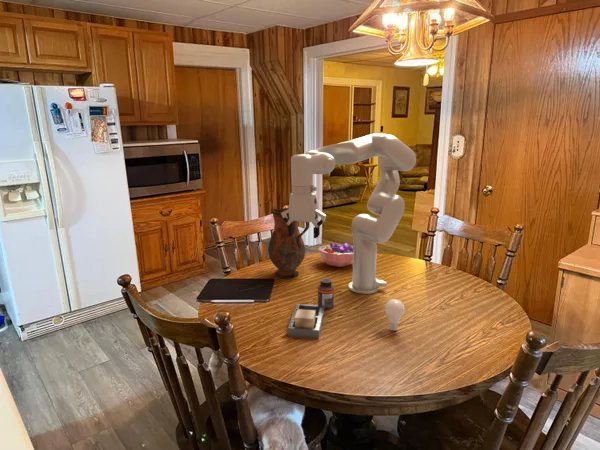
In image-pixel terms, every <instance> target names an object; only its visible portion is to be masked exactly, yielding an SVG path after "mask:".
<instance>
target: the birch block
mask: <svg viewBox="0 0 600 450" xmlns="http://www.w3.org/2000/svg"><path fill="white" fill-rule="evenodd" d="M315 317H316V310H303V309H298V310H297V313H296V316H295V327H300V328H314V329H315Z"/></svg>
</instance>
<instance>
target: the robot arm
mask: <svg viewBox="0 0 600 450" xmlns="http://www.w3.org/2000/svg"><path fill="white" fill-rule="evenodd" d="M374 157H377V163H378V166H379V172H380V175H379V180H378V181H377V184H376V186H375V188H374V189H373V191H372V193H371V194H370V196H369V198H368V201H367V202H366V207H367V210H368V211H369V212H370V213H372V214H375V215H378V216H379V217H378V216H375V215H371V214H367V213H359V214H358V215H356V216H355V217H354V218H353V219H352V222H351V234H352V241H353V263H352V275H351V277H352V278H351V279H352V280H351V282H348V284H347V285H348V290H349V291H351V292H353V293H356V294H361V295H371V294H374V293H377V292H378V291H379V290H380V288H379V287H388V286H387V281H384V280H383V279H378V278H377V276H376V274H377V255H378V247H377V244H384V243H386V242H388V241H389V240H390V238H391V237H392V236H393V234H394V232H395V230H396V228H397V226H398V225H399V222H400V221H401V219H402V217H403V215H404V213H405V208H406V205H405V204H406V202H405V200H404V198H403V197H402V196H401V195H399V194H397V192H398V190H399V188H400V184H401V179H400V173H399V171H400V172H409V171H411V170H413V169H414V168H415V166H416V164H417V156H416V153H415V152H414V150H413V149H411V148H410V147H409V146H408V145H406V144H405V143H404V142H403V141H401V140H400V139H399V138H398V137H396V136H395V135H392V134H387V133H371V134H367V135H365V136H361V137H358V138H354V139H352V140H348V141H343V142H339V143H335V144H329V145H325V146H320V147H317V148H313V149H312V150H308V151H307V152H305V153H300V154H294V155H291V157H290V170H291V171H290V172H291V193H290V195H289V202H288V203H289V204H288V208H287V209H288V210H286V211H284V212H282V213H281V215H282V217H283V218H284V221H285V222H286V223H287V225H288V232H289V236H292V235H293V234H294V223H293V222H294V221H298V222H302V223H305V222H309V223H311V224H312V225H313V226H314V227H313V239H317V238H318V237H319V236H320V232H321V231H320V230H321V225H322V224H324V222H325V221H326V218H327V215H326V214H325V213H324V212H322V211H320V210H319V205H318V198H317V194H316V193H315V192H317V187H316V186H314V175H327V174H330V173H331V172H333V170H335V167H336V165H353V164H357V163H359V162H363V161H365V160H368V159H370V158H371V159H372V158H374ZM287 213H289V218H290V219H289V218H288V217H287V215H286V214H287ZM319 217H320V220H318V219H319Z"/></svg>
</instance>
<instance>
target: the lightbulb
mask: <svg viewBox="0 0 600 450" xmlns="http://www.w3.org/2000/svg"><path fill="white" fill-rule="evenodd" d="M405 310H406V309H405V305H404V302H403V301H401V300H400V299H396V298H391V299H389V300H388V301H386V304H385V306H384V311H385V313H386V316H387V317H388V320H389V329H390V331H393V332H395V331H398V328H399V322H400V320H401V318H402V317H403V315H404V314H405Z"/></svg>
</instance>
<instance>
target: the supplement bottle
mask: <svg viewBox="0 0 600 450" xmlns="http://www.w3.org/2000/svg"><path fill="white" fill-rule="evenodd" d="M332 283H333V282H332V279H330V278H327V277H326V278H321V279H320V284H318V287H317V305H324V310H332V309H333V308H334V306H335V305H334V303H335V302H334V301H335V288H334V285H333V284H332Z"/></svg>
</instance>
